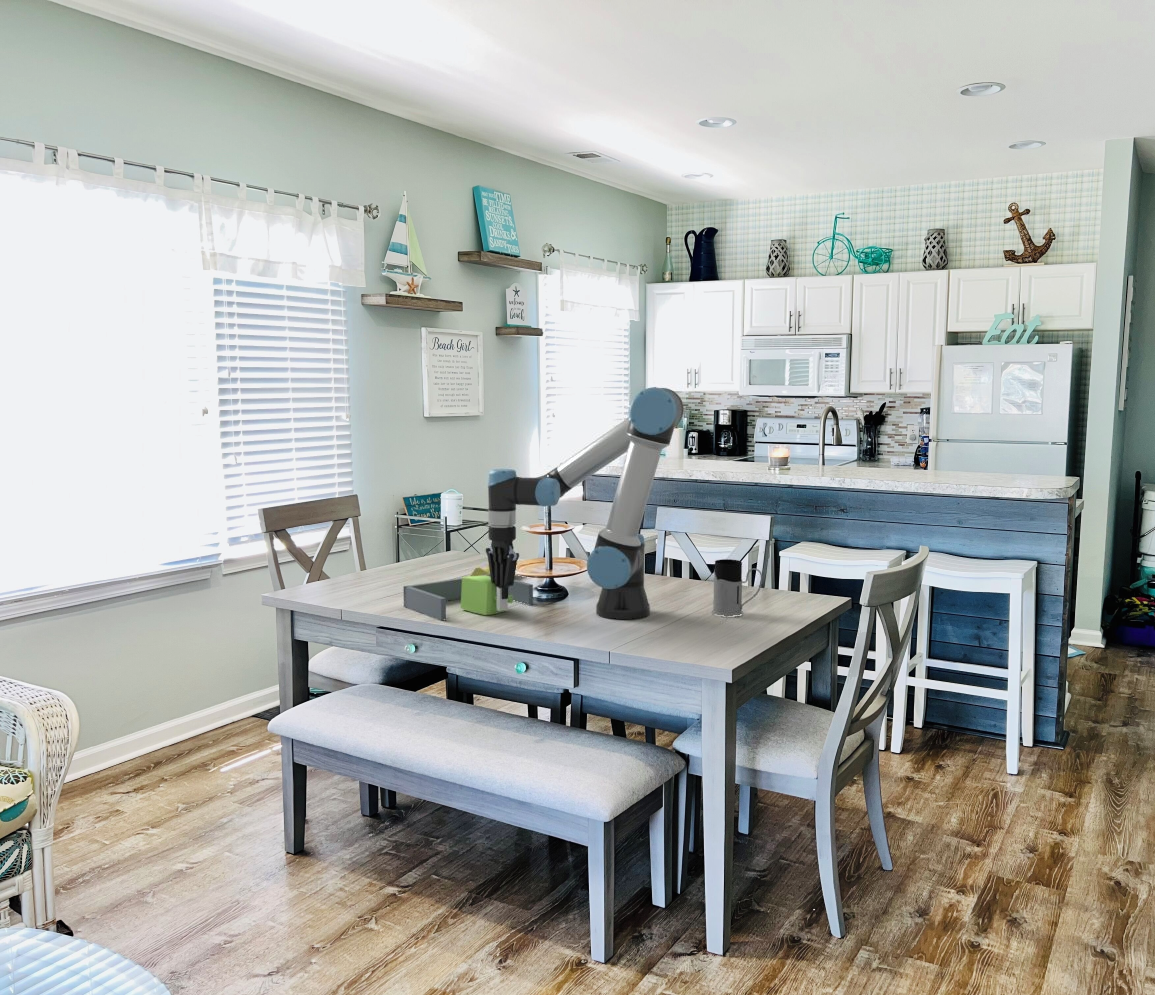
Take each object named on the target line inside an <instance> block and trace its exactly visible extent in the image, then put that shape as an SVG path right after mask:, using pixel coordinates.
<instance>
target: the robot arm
mask: <svg viewBox="0 0 1155 995" xmlns="http://www.w3.org/2000/svg"><path fill="white" fill-rule="evenodd" d="M684 411H685V410H684V402H683V401H682V399H681V397H680V395H679V394H678V393H676V391H674V390H672V389H670V388H668V387H667V388H666V387H656V386H655V387H654V386H653V387H652V386H651V387H647V388H645V389H644V390H641V391H640V392H638V393H637V394H636V395H635V396H634V398H632V401H631V403H630V407H629V417H627V418H625V419H624V420H623V421H621V422H620V423H619V424H617V425H616V426H614V427H613V428H611V429H610V430H609V431H607V432H606V433H604V434H602V435H601V436H600V437H598V438H596V439H595V440H594V441H592V442H591V443H589V444H588V445H587V446H585V447H584V448H582V449H580V450H579V451H578V452H577V453H575V454H573V455H571V457H569V458H568V459H567V460H565V461H564V462H562V463H561V464H559V465H558V466H556V467H554V468H553V469H552V470H550V471H548V472H547V473H546V474H544V475H543V474H542V475H541V476H538V477H521V476H518V475H517V471H516V470H515V469H510V468H495V469H492V470H490V471H489V473H488V483H487V484H488V485H487V488H488V490H487V491H488V492H487V494H488V496H487V497H488V509H487V510H488V511H487V512H488V513H487V514H488V515H487V516H488V520H487V521H488V523H487V524H488V525H489V527H488V530H487V531H488V537H487V538H488V540H490V541H491V543H490V547H487V548H485V553H486V556H487V560H488V561H487V562H488V566H489V570H490V577H491V582H492V583H494V584H495V586H496V597H497V610H498V611H503V610H507V611H508V610H509V609H508V608H509V606H508V605H509V603H508V587H509V586H513V584H514V580H515V578H516V570H517V569H516V565H517V564H518V560H519V558H520V553H519V552H515V550H514V547H515V546H514V544H513V542H514V540H516V538H517V537H516V536H517V528H516V526H515V525H516V523H517V517H516V514H517V513H516V512H517V511H516V510H517V507H516V506H517V505H518V506H521V505H523V506H535V507H536V506H538V507H544V508H545V507H554V506H557V505H558V503H559V501H560V499H561V498H562V497H564V495H565V494H566V493H568V492H570V490H572V489H573V488H575V487H576V486H578V485H579V484H581V483H583V482H584V481H585V480H587V479H588V478H590V477H591V476H593V475H594V474H596V473H597V472H599V471H601V470H602V469H603V468H605V467H606V466H607V465H610V463H612V462H614V461H615V460H617V459H618V458H620V457H621V456H623V455H624V454H625V453H626V455H625V458H624V461H623V466H622V469H621V474H620V476H619V480H618V485H617V487H616V491H615V495H614V498H613V502H612V505H611V509H610V512H609V515H608V516H609V517H608V520H607V523H606V526H605V528H603V529H601V530H599V532H598V534H597V538H596V542H595V545H594V548H593V550H592V551H591V553H590V554H589V556H588V558H587V562H586V571H587V574H588V576H589V578H590V579H591V581H592V582H593V583H594V584H595V585H596V586H598V587H600V588H601V590H600V594H599V597H598V601H597V603H596V606H595V613H596V615H598V616H599V617H603V618H606V619H612V618H616V619H615V620H633V619H632V618H637V619H642V617H643V618H646V617H648V616H649V615H651V614H650V613H651V610H650V609H651V607H650V603H649V601H648V600H649V599H648V596H647V592H646V589H645V548H646V543H645V536H644V535H643V534H641V533H639V532H640V531H639V530H640V528H641V525H642V521H643V517H644V514H645V511H646V507H647V504H648V499H649V497H650V493H651V489H652V486H653V483H654V478H655V475H656V472H657V468H658V465H659V462H660V457H661V454H662V451H663V450H664V449H665V448H667V447H669V446H670V445H671V440H672V438H673V433H674V431H675V427H677V426H678V425H679V424H680V422H681V421H682V419H683V416H684V413H685V412H684ZM547 475H549V477H547ZM645 616H646V617H645Z"/></svg>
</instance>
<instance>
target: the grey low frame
mask: <svg viewBox="0 0 1155 995" xmlns="http://www.w3.org/2000/svg"><path fill="white" fill-rule="evenodd" d="M480 576H483V575H480ZM484 576H490V574H487V575H484ZM462 578H463V577H460V578H452V579H445V580H444V579H443V580H438V581H431V582H424V583H417V584H410V585H403V589H402V590H403V607H404V608H406V607H407V608H406V609H409V610H411V611H415V612H418V613H420V614H422V615H425V616H428V617H431V618H433V619H436V618H437V620H439V621H445V620H444V619H446V620H447V606H446V605H447V603H446V602H449V601H448V600H451V601H456V600H455V599H457V600H461V589H462ZM508 595H512V596H513V600H515V601H514V602H516V601H518V602H517V603H519V602H522V603H525V604H524V605H526V604H533V605H534V584H532V583H528V582H525V581H521V580H517V579H514V584H513V586H509V587H508ZM522 603H521V604H522Z"/></svg>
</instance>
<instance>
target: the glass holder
mask: <svg viewBox="0 0 1155 995" xmlns="http://www.w3.org/2000/svg"><path fill="white" fill-rule="evenodd" d="M753 570H754V571H757V572H758V573H759V574H760V583H759V587H758V588H757V590H756V592H755V594H753V596H751V597H750V598H749V599H747V600H746V601H744V602H742V601H743V600H742V599H743V598H742V597H743V584H745V583H747V582H748V580H749V574H750V572H751V571H753ZM742 573H743V561H741V560H737V559H728V558H725V559H724V558H723V559H715V560H714V569H713V602H712V603H713V605H712V607H713V608H712V609H713V610H712V611H711V614H712V613H713V614H717V615H724V616H733V615H740V614H742V613H743V606H744V605H746V604H747V603H748V602H750V601H751V600H752V599H753V598H755V597H756V596H757V595H758V594H759V592H760V590H761V588H762V584H763V573H762V571H761V570H760V569H758V568H750V569H748V571H747V573H746V576H745V578H746V579H745V580H744V581H743V579H742Z"/></svg>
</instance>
